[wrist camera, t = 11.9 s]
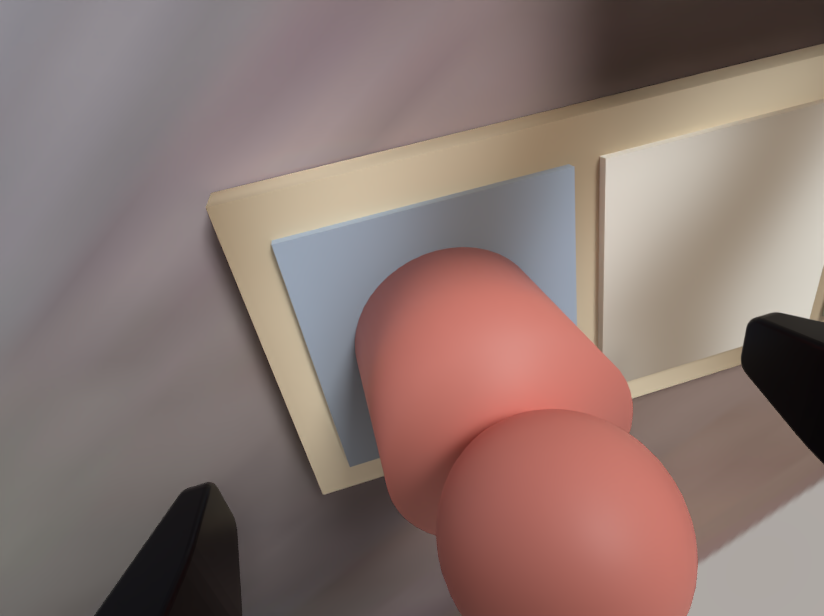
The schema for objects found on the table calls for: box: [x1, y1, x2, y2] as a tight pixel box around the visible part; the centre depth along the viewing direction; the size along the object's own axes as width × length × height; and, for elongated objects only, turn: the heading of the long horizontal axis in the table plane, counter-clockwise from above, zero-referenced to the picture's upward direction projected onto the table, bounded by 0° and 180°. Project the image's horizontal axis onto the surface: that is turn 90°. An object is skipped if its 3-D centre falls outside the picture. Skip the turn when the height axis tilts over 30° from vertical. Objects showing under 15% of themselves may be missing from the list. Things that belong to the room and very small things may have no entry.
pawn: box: [355, 247, 698, 616], centre depth 8 cm, size 4×4×6 cm
